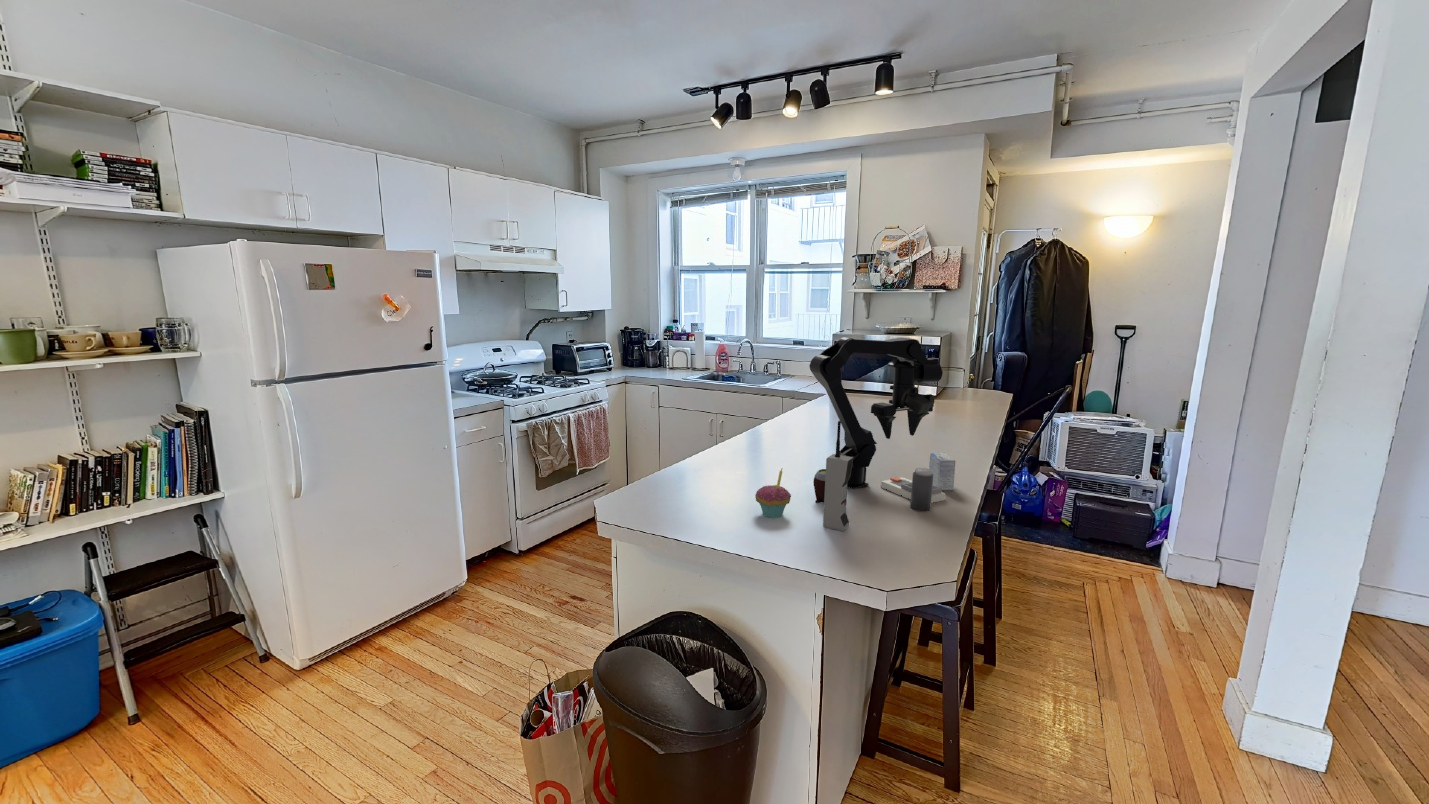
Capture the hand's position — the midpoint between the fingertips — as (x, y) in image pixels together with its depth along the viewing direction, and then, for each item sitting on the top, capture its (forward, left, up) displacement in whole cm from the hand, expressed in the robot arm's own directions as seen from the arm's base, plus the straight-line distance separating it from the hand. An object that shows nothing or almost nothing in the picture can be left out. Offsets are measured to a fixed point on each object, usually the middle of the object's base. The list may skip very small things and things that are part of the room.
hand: (900, 437), depth 163 cm
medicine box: (+8, -9, -13) cm, 18 cm away
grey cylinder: (-11, -19, -13) cm, 25 cm away
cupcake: (-47, -6, -13) cm, 49 cm away
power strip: (-4, -10, -13) cm, 17 cm away
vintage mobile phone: (-38, -19, -13) cm, 44 cm away
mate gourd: (-29, -5, -13) cm, 32 cm away
